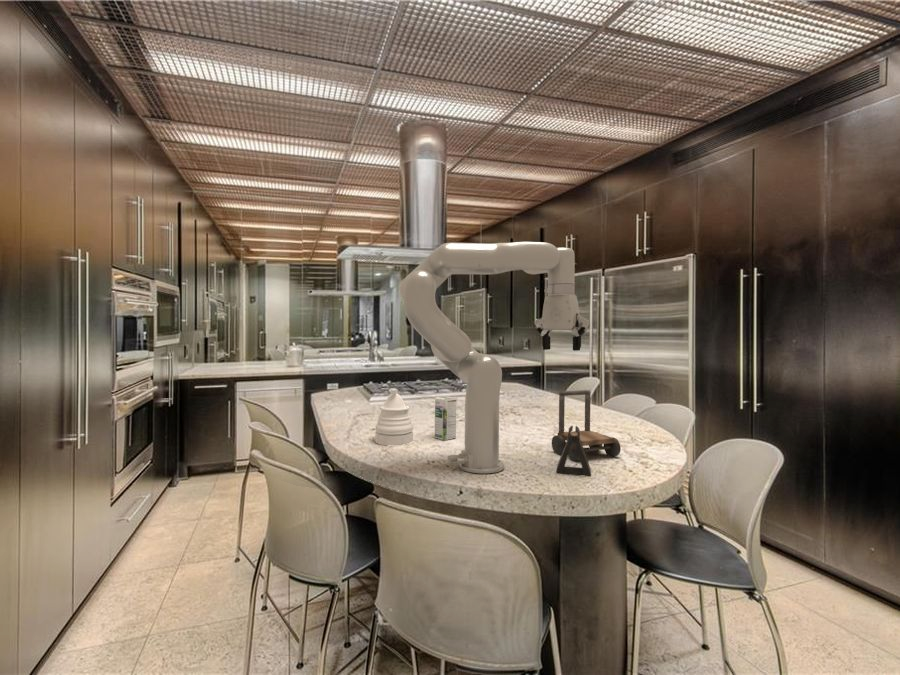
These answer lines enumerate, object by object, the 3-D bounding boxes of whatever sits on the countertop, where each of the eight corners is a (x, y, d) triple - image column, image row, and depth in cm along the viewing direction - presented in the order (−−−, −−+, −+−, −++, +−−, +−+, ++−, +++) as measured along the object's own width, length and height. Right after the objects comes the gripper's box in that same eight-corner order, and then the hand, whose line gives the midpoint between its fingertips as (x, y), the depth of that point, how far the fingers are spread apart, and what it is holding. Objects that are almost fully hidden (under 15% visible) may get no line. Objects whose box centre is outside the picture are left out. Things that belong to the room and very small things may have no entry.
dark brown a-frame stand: (555, 473, 124) (556, 428, 124) (557, 467, 129) (557, 424, 129) (590, 476, 121) (591, 431, 121) (590, 470, 127) (591, 426, 127)
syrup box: (433, 438, 163) (433, 397, 163) (445, 435, 167) (446, 395, 167) (444, 441, 159) (444, 399, 159) (456, 438, 163) (457, 397, 163)
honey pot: (411, 446, 152) (411, 391, 151) (372, 445, 152) (372, 391, 152) (414, 437, 164) (414, 386, 164) (378, 436, 165) (379, 386, 164)
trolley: (578, 463, 133) (579, 397, 133) (551, 451, 146) (552, 391, 146) (620, 458, 139) (621, 394, 139) (591, 447, 152) (591, 389, 151)
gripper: (528, 292, 137) (528, 349, 137) (582, 288, 125) (582, 351, 125) (542, 293, 142) (542, 348, 143) (595, 290, 131) (595, 350, 131)
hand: (561, 350), depth 134 cm, fingers open, 9 cm apart
